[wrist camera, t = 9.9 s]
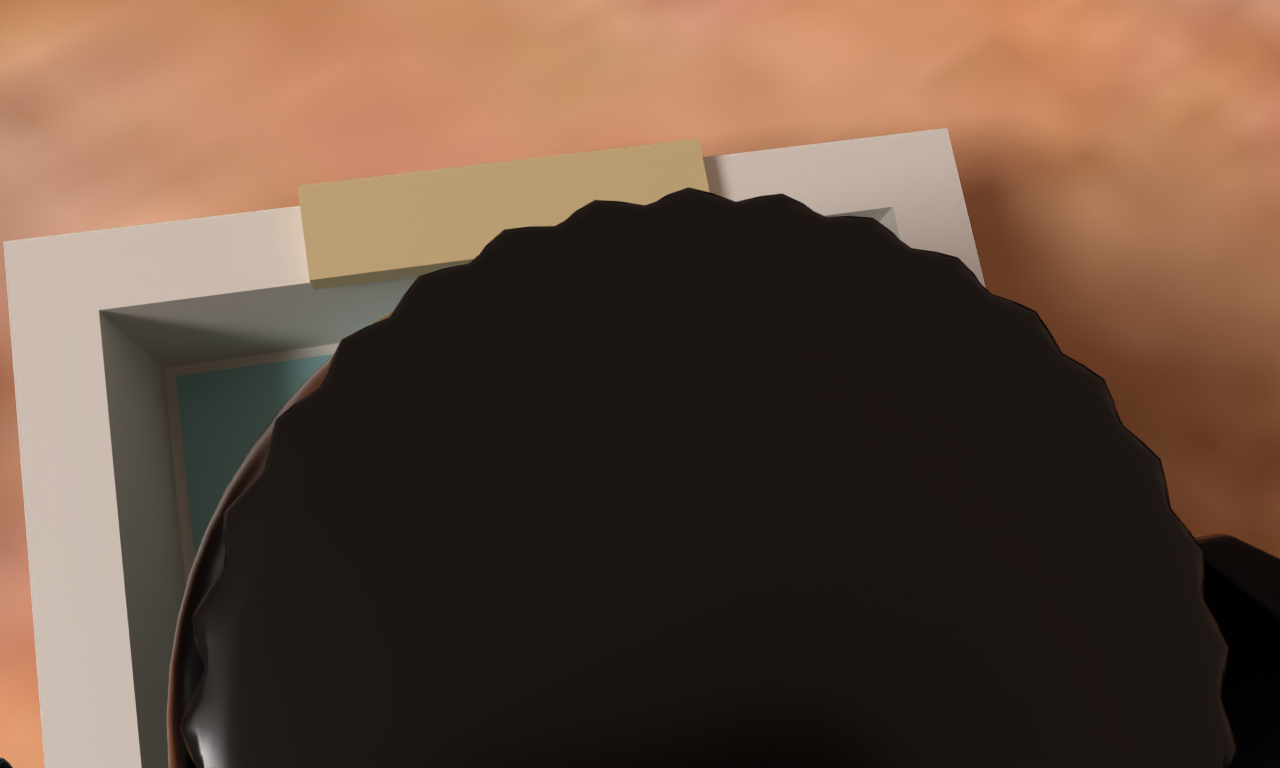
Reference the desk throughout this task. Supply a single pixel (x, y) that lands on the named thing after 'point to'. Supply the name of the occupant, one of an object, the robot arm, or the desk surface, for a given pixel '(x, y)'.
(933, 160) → the tray
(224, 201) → the desk surface
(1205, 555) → the robot arm
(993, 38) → the desk surface
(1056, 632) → the supplement bottle
